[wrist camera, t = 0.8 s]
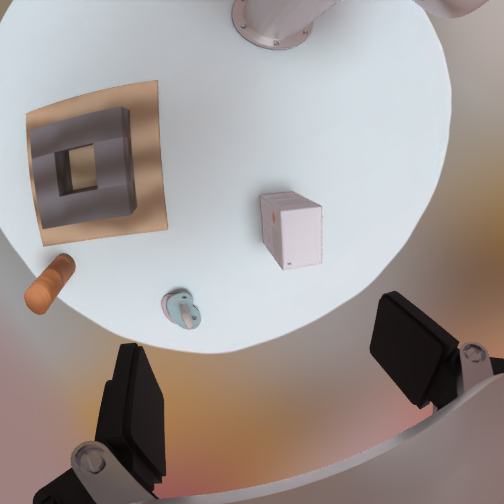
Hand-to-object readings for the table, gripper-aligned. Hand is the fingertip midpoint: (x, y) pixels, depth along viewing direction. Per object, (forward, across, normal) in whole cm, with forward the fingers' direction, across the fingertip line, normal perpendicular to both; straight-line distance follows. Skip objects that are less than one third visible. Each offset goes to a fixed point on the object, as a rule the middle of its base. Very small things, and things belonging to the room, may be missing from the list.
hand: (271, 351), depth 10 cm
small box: (+33, -10, +4) cm, 35 cm away
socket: (+33, +17, -8) cm, 38 cm away
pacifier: (+34, +7, +18) cm, 39 cm away
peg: (+34, +26, +7) cm, 43 cm away
